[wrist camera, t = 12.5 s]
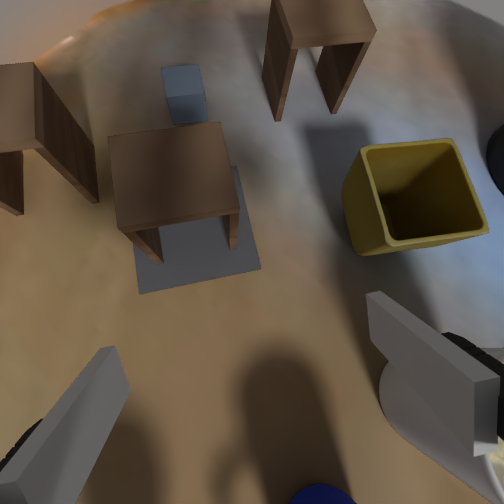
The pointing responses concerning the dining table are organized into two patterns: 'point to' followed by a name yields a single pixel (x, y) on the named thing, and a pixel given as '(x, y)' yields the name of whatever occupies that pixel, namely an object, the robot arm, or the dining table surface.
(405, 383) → the candle holder
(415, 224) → the flower pot
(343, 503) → the mug
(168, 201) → the cover middle
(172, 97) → the cube
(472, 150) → the dining table surface
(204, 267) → the mat
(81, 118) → the dining table surface
